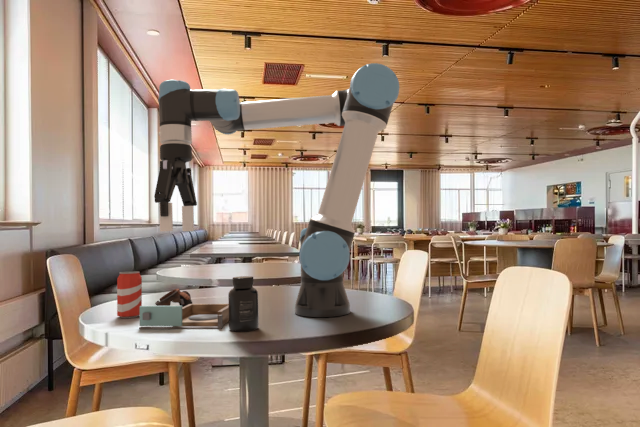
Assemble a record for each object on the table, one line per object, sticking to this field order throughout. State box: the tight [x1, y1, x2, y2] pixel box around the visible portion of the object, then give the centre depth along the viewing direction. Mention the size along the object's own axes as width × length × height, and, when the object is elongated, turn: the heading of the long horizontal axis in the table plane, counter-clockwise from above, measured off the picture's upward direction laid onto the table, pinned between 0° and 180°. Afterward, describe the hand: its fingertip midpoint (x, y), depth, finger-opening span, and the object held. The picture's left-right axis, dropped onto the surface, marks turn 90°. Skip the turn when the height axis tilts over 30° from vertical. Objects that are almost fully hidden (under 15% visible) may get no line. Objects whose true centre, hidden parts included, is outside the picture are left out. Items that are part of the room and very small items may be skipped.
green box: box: [139, 305, 182, 327], centre depth 107 cm, size 10×2×5 cm, turn 87°
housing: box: [138, 303, 229, 330], centre depth 114 cm, size 20×15×4 cm
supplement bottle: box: [227, 275, 260, 333], centre depth 106 cm, size 7×7×12 cm
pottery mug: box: [154, 288, 193, 307], centre depth 126 cm, size 12×10×8 cm
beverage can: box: [116, 271, 143, 319], centre depth 124 cm, size 6×6×12 cm
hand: (178, 231), depth 112 cm, fingers open, 13 cm apart
